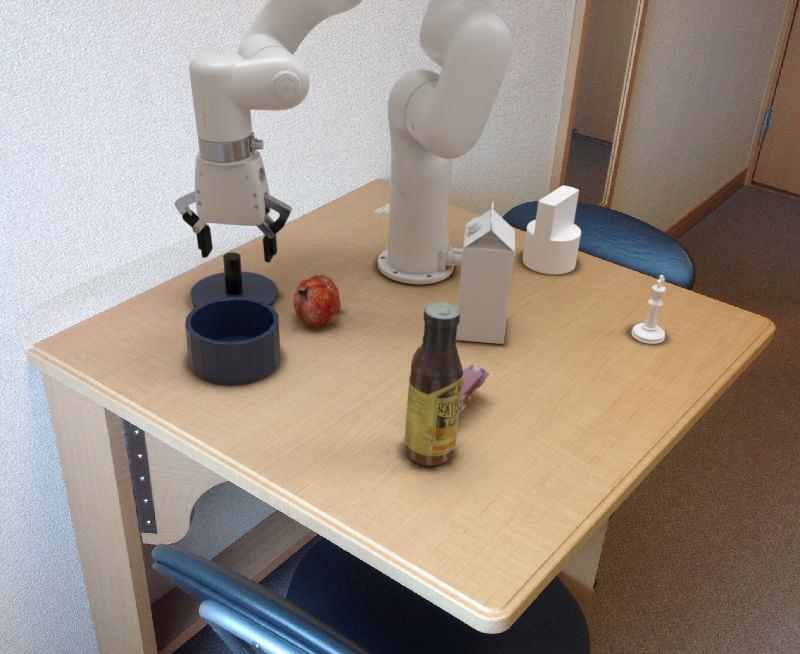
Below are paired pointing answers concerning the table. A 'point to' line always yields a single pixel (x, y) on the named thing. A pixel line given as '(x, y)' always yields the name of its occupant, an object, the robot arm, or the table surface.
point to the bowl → (233, 340)
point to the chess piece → (652, 318)
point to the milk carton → (485, 278)
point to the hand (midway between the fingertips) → (238, 256)
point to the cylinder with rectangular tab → (553, 233)
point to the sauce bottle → (434, 388)
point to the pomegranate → (317, 300)
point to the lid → (234, 284)
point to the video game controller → (471, 382)
